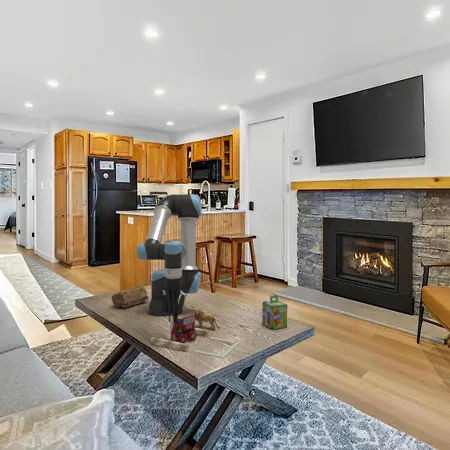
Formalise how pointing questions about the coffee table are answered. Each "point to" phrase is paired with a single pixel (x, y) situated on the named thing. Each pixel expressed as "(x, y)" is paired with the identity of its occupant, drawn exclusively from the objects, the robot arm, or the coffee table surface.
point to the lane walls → (176, 344)
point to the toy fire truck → (184, 329)
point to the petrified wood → (130, 297)
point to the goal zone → (217, 354)
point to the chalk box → (274, 313)
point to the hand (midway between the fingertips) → (173, 329)
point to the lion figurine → (204, 318)
